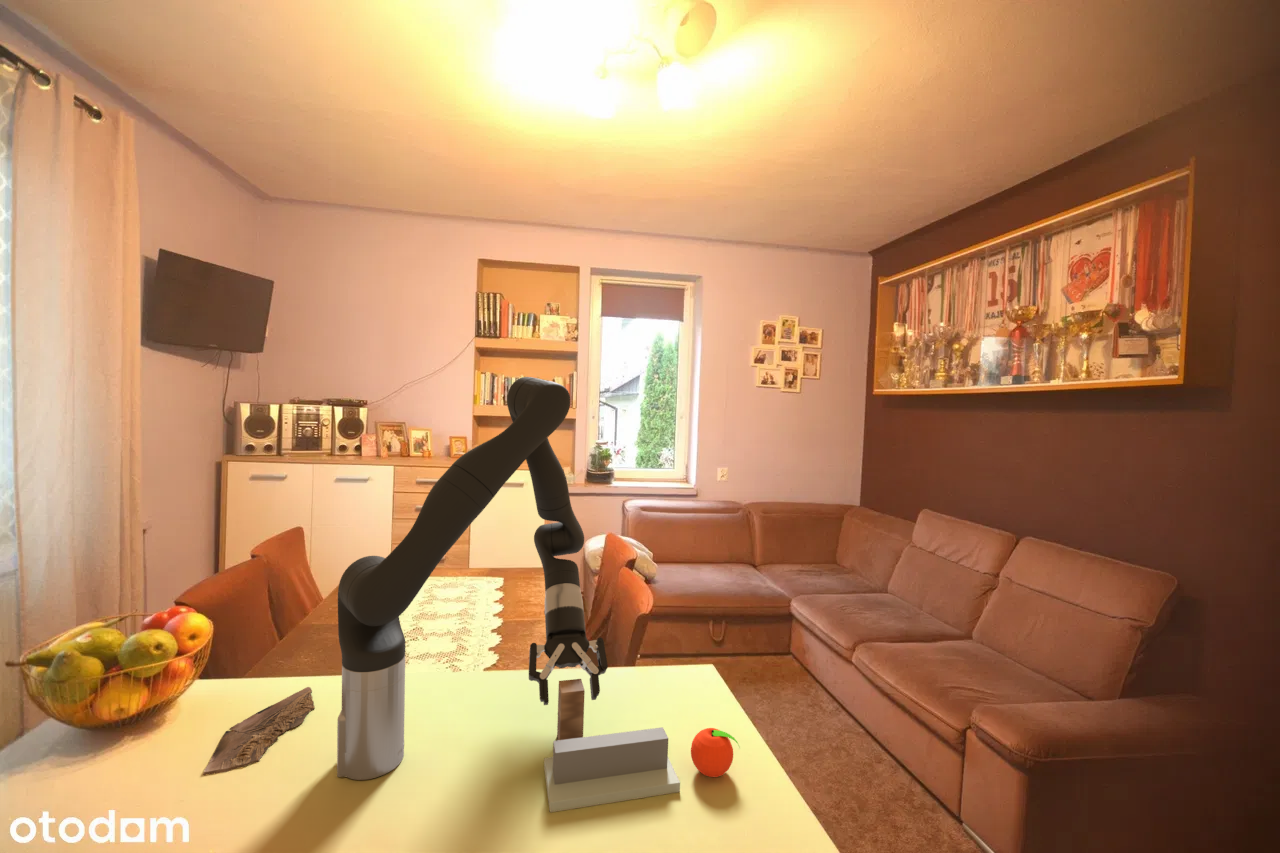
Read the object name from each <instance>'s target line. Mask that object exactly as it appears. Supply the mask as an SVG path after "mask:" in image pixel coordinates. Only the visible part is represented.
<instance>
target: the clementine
mask: <svg viewBox="0 0 1280 853" xmlns="http://www.w3.org/2000/svg"><path fill="white" fill-rule="evenodd" d="M730 739H731V740H733V741H735V742H736V744H737V745H738V747H739V748H738V749H741V746H740V745H739V743H738V741H737V740H736V739H735V737H733V736H732V735H731V734H730V733H728V732H726V731H723V730H720V729H718V728H715V727H708V728H704V729H701V730H700V731H699V732H697V733H696V734H695V736H694V738H693V740H692V741H691V748H690V755H691V760H692V763H693V766H694V767H695V769H697V771H699V773H701V774H702V775H704V776H707V777H709V778H717V777H721V776H723V775H725V773H727V772H728V771H729V770H730V767H731V766H732V764H733V759H734V748H733V744H732V742H731V740H730Z"/></svg>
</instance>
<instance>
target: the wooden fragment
mask: <svg viewBox="0 0 1280 853" xmlns="http://www.w3.org/2000/svg"><path fill="white" fill-rule="evenodd" d="M312 692H313V690H312V688H311V687H310V686H307V687H305V688H302V689H301V690H299V691H297V692H295V693H293V694H291V695H289V696H287V697H285V698H284V699H281V700H280V701H278V702H276V703H274V704H271V705H269V706H267V707H265V708H263V709H262V710H259V711H258V712H256V713H254V714H252V715H251V716H248V717H247V718H245V719H244V720H242V721H240V722H239V723H236V724H234V725H232V726H230V727H229V728H228V730H226V731H225V732H224V733H223V735H222V737H221V739H220V740H219V743H218V745H217V747H216V749H215V751H214V752H213V754H212V756H211V758H210V759H209V762H208V764H207V765H206V767H205V768H204V770H203V773H202V775H204V776H207V775H206V774H209V775H214V773H215V774H223V773H227V772H230V771H232V770H235V769H239V768H243V767H247V766H249V765H251V764H254V763H258V762H260V761H261V758H263V755H264V753H266V752H267V751H268V749H269V747H270V746H271V745H273V744H274V743H275V742H277V741H278V740H279V737H280V736H282V735H283V734H285V732H287V731H291V730H293V729H295V728H296V727H297V726H300V725H301V724H302V723H303V722H305V719H306V718H307V715H308V714H309V713H310V712H311V711H313V710H315V708H316V707H315V705H314V704H315V703H314V702H315V701H314V700H313V696H312Z"/></svg>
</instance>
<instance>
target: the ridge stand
mask: <svg viewBox="0 0 1280 853" xmlns="http://www.w3.org/2000/svg"><path fill="white" fill-rule="evenodd" d="M552 746H553V747H552V748H553V750H552V751H553V752H552V756H550V757H544V758H543V761H544V762H543V768H544V777H545V785H546V786H545V787H546V793H547V794H546V795H547V799H548V800H547V801H548V807H549V813H554V812H555V813H556V812H560V811H568V810H574V809H579V808H581V809H582V808H587V807H593V806H600V805H605V804H612V803H618V802H623V801H624V802H625V801H631V800H638V799H641V798H642V799H643V798H649V797H655V796H662V795H667V794H669V795H670V794H674V793H675V794H676V793H680V792H681V782H680V779H679V776H678V775H677V773H676V771H675V768H674V767H673V763H672V762H671V760H670V759H669V758H670V757H669V753H668V752H669V737H668V735H667V732H666V731H665V728H664V727H655V728H647V729H638V730H629V731H623V732H622V731H621V732H613V733H607V734H605V733H604V734H599V735H598V734H597V735H591V736H583V737H581V738H573V739H565V740H558V739H557V740H553V743H552Z"/></svg>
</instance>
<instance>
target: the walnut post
mask: <svg viewBox="0 0 1280 853" xmlns="http://www.w3.org/2000/svg"><path fill="white" fill-rule="evenodd" d="M582 680H583V679H582V678H577V679H576V678H575V679H567V680H566V679H565V680H558V693H557V694H558V695H557V699H558V700H557V724H556V725H557V726H556V727H557V729H556V730H557V732H556V736H557V740H565V739H573V738H581V737H584V723H585V722H584V719H585V693H586V692H585V688H584V684H583V681H582Z"/></svg>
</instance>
